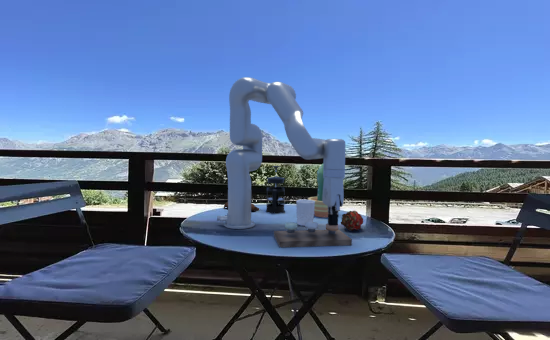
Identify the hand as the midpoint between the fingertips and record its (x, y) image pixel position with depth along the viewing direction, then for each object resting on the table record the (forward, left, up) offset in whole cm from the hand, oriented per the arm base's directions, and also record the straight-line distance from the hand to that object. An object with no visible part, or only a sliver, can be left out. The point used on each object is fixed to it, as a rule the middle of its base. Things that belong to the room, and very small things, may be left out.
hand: (332, 224), depth 117 cm
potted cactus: (+9, +40, -6) cm, 41 cm away
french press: (-13, +50, -6) cm, 52 cm away
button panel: (-8, 0, -6) cm, 10 cm away
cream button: (-8, 0, -2) cm, 8 cm away
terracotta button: (0, 0, -3) cm, 3 cm away
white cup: (-4, +24, -6) cm, 25 cm away
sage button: (-15, 0, -2) cm, 15 cm away
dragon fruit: (+13, +14, -6) cm, 20 cm away
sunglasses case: (-29, +57, -6) cm, 64 cm away
